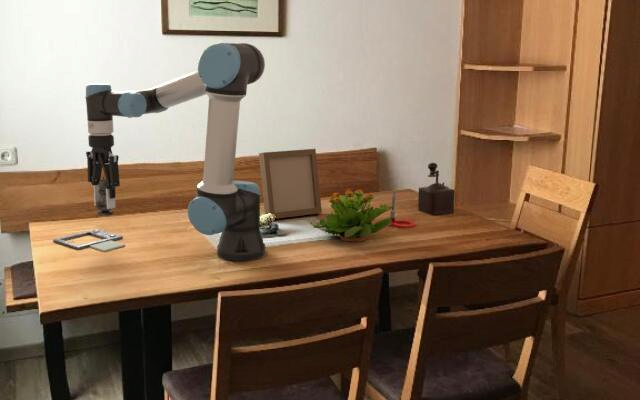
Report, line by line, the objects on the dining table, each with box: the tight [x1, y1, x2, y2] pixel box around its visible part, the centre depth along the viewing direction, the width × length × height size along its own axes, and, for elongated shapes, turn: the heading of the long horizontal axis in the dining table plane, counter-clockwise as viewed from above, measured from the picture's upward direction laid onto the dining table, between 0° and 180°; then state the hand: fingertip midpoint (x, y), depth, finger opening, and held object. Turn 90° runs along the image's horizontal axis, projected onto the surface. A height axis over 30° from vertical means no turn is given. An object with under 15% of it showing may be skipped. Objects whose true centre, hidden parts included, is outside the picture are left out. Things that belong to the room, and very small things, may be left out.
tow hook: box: [387, 189, 416, 229], centre depth 254 cm, size 8×13×9 cm
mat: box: [89, 240, 126, 253], centre depth 225 cm, size 8×8×1 cm
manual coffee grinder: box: [417, 162, 456, 216], centre depth 276 cm, size 16×11×18 cm
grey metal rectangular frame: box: [52, 228, 124, 251], centre depth 232 cm, size 14×17×1 cm
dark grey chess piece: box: [95, 176, 115, 217], centre depth 221 cm, size 6×6×12 cm
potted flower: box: [309, 188, 393, 243], centre depth 236 cm, size 25×24×18 cm
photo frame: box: [258, 148, 323, 219], centre depth 266 cm, size 15×22×25 cm
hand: (104, 206), depth 222 cm, fingers closed on dark grey chess piece, 6 cm apart
